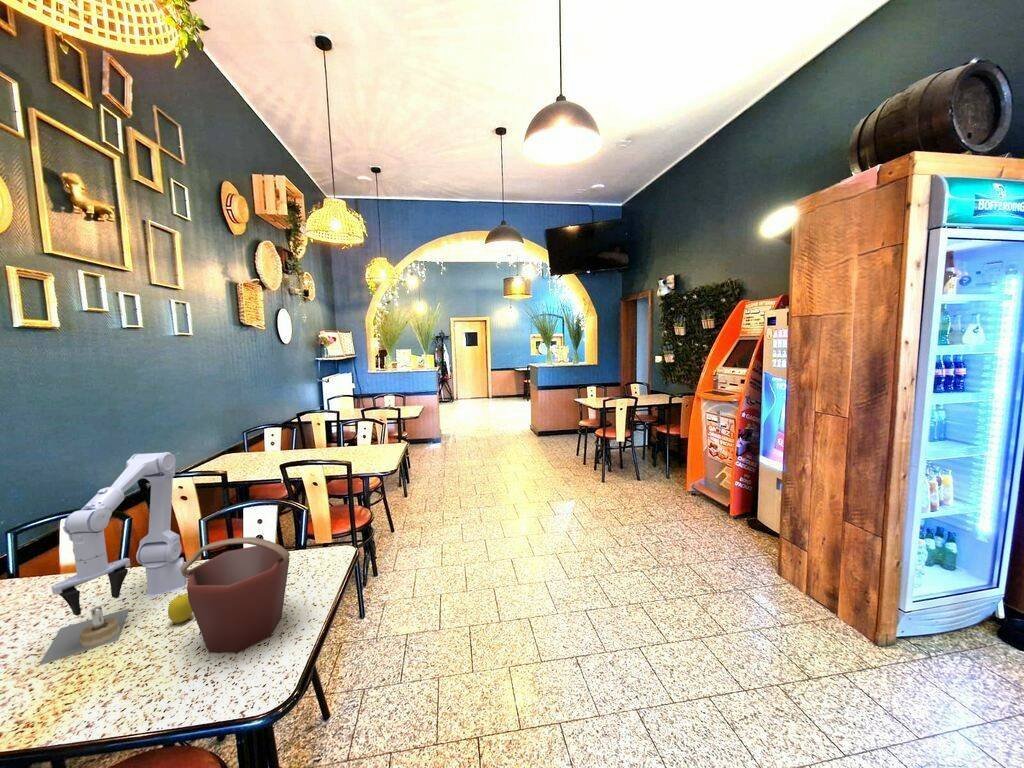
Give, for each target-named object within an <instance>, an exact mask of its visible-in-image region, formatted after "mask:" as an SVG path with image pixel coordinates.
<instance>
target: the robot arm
mask: <svg viewBox="0 0 1024 768" xmlns="http://www.w3.org/2000/svg"><path fill="white" fill-rule="evenodd" d="M176 460H177V459H176V457H175V456H174V455H173V454H172V453H171V452H169V451H165V452H154V453H152V452H151V453H150V452H149V453H134V454H132V455H131V456H130V458H129V459H128V460H126V462H125V469H124V470H123V472H122V473H120V475H119V476H118V477H117V479H116V480H115V481H114V482H113V483H112V485H110V486H108V487H104V488H100V489H99V490H98V491H97V493H96V494H95V495H94V496H93V497H92V498H91V499H90V500H89V501H88V502H87V503H86V504H85V505H84V506H83V507H82V508H81V509H79V510H75V511H73V512H72V513H71V514H69V515H68V516H67V517H66V519H65V521H64V524H63V526H62V528H63V532H64V533H65V534H66V535H68V538H69V539H68V540H69V541H70V542H72V548H73V556H74V563H75V571H76V574H74V575H73V576H71V577H69V578H67V579H65V580H63V581H60V582H58V583H55V584H54V585H51V592H52V594H53V595H54V596H55V595H56V596H58V595H59V596H60V597H61V598H62V599H63V600H64V601H65V602H66V603H67V605H68V606H69V608H70V609H71V612H72V615H74V616H76V617H78V616H81V614H82V609H81V605H80V604H81V603H80V598H81V596H80V595H81V591H80V590H78V588H77V586H78V587H79V586H80V585H82V584H85V583H87V582H90V581H93V580H96V579H98V578H100V577H102V576H105V575H107V577H108V579H109V585H110V593H111V597H112V598H114V599H119V598H120V594H121V589H122V586H123V583H124V581H125V578H126V576H127V575H128V573H129V568H128V567H130V566H131V560H130V558H129V557H125V558H122V559H119V560H115V561H112V562H108V554H107V546H106V538H105V529H106V528H107V526H108V525H109V523H110V519H111V517H112V514H113V512H114V511H115V510H116V509H117V508H118V506H120V504H121V503H122V502H123V501H124V500H125V498H126V497H125V493H126V491H128V490H129V489H130V488H131V487H133V485H134V484H135V483H137V482H138V481H139V480H140V479H141V478H142V479H145V480H147V481H148V482H149V483H150V484H151V485H150V499H149V500H150V502H149V503H150V504H149V519H148V534H147V535H145V536H144V537H143V538H142V539H140V540H139V546H138V549H137V552H136V555H135V558H136V562H137V563H138V564H139V565H142V568H145V574H146V583H147V584H146V585H147V591H146V594H145V599H149V598H153V597H156V596H159V595H163V594H166V593H170V592H174V591H177V590H181V589H184V588H185V586H186V581H187V578H186V577H184V576H183V575H182V573H181V566H182V565H183V564H184V563H185V559H184V557H180V555H181V553H182V548H183V547H182V544H181V539H180V537H181V536H180V534H178V533H176V532H174V531H172V529H171V523H172V521H171V520H172V519H171V518H172V503H173V501H172V500H173V497H172V496H173V483H174V482H173V481H174V479H173V478H174V477H175V476H176Z"/></svg>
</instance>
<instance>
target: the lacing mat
mask: <svg viewBox="0 0 1024 768" xmlns="http://www.w3.org/2000/svg"><path fill="white" fill-rule="evenodd" d="M129 611H130V607H129V608H126V609H123V610H119V611H118V610H117V611H114V612H112V613H107V614H105V615H104V614H103V619H107V618H117V619H119V627H120V631H119V633H118V634H117V635H116V636H115V637H113V638H112V639H110V640H108V641H106V642H104V643H102V644H99V645H95V646H91V647H83V646H82V645H81V641H80V632H81V630H83V629H84V628H85V627H87V626H88V625H90V624H93V621H92V618H91V619H87V620H84V621H81V622H78V623H74V624H70V625H67V626H64V627H60V628H59V629H58V632H57V633H56V635H55V637H54V638H53V640H52V642H51V643H50V646H49V647H48V649H47V651H46V653H45V654H44V655H43V657H42V660H41V661H40V662H39V664H38V666H42V665H45V664H49V663H51V662H55V661H58V660H61V659H64V658H67V657H70V656H74V655H76V654H80V653H83V652H85V651H90V650H93V649H95V648H99V647H101V646H104V645H107V644H111V643H114V642H117V641H119V640H120V637H121V634H122V631H123V629H124V625H125V622H126V620H127V617H128V614H129Z"/></svg>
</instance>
